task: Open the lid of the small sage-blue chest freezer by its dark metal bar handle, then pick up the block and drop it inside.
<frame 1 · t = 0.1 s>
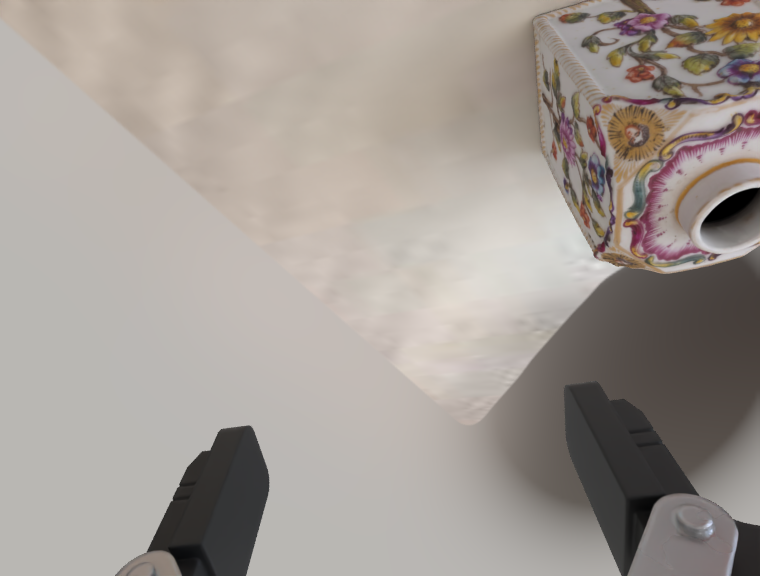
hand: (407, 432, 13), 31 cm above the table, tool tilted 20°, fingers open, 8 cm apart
decorative jar: (613, 67, 39), on the table
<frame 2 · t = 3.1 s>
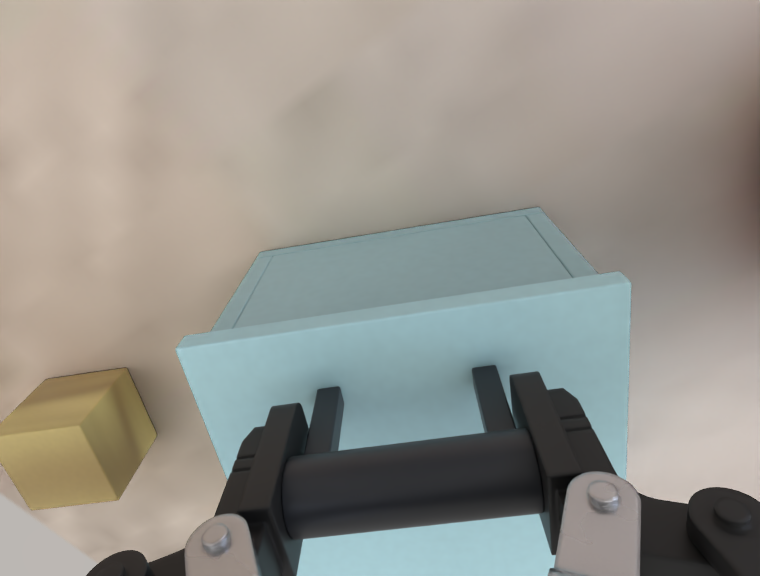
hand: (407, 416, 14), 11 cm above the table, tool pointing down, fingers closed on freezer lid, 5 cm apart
chest freezer: (420, 374, 27), on the table
block: (103, 407, 28), on the table
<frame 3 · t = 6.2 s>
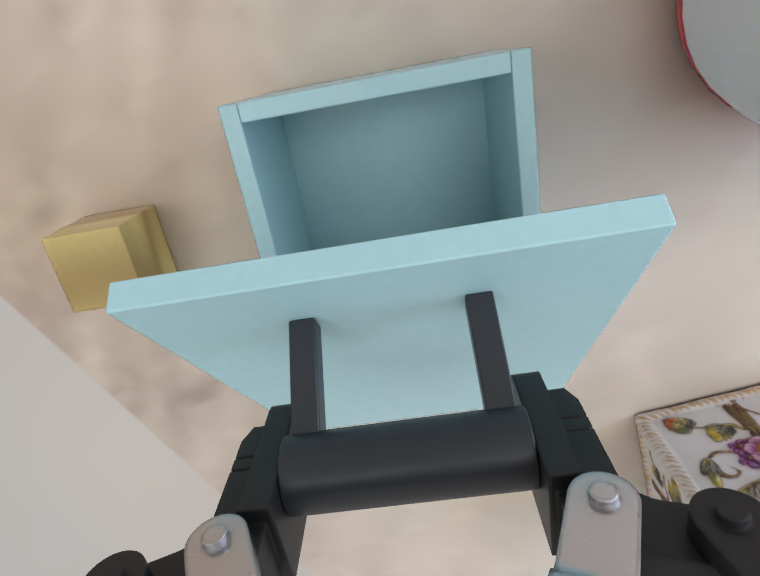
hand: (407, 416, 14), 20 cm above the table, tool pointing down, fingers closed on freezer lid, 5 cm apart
chest freezer: (399, 209, 32), on the table
decorative jar: (721, 450, 39), on the table
block: (132, 244, 33), on the table
freezer lid: (418, 425, 18), point 16 cm above the table, hinge at 41.6°, touching gripper
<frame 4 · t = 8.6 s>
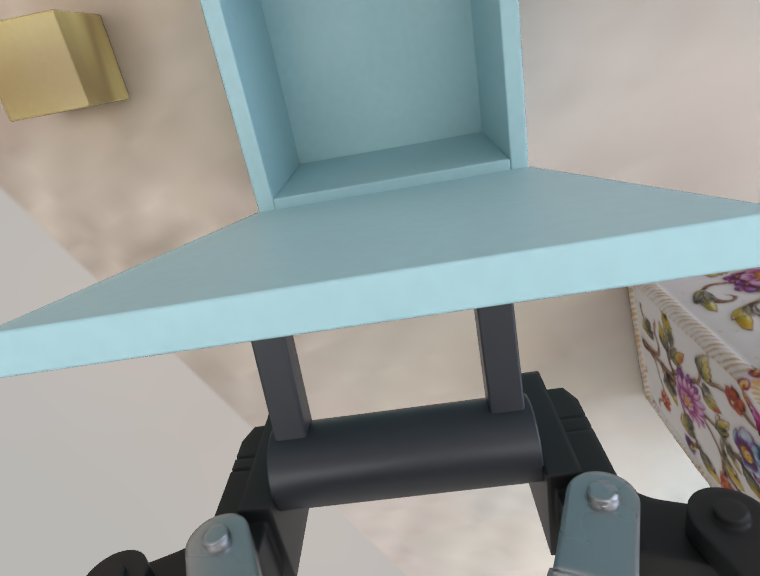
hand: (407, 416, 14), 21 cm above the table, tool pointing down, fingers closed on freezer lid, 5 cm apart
chest freezer: (368, 18, 29), on the table
decorative jar: (716, 310, 36), on the table
block: (79, 64, 30), on the table
freezer lid: (396, 296, 16), point 18 cm above the table, hinge at 80.0°, touching gripper
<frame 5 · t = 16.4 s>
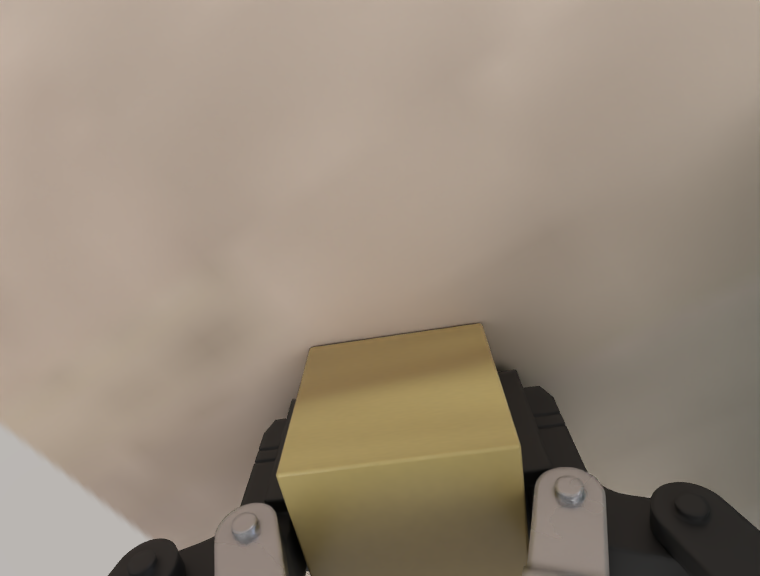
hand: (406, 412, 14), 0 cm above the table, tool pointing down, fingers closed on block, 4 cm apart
block: (407, 404, 14), on the table, touching gripper
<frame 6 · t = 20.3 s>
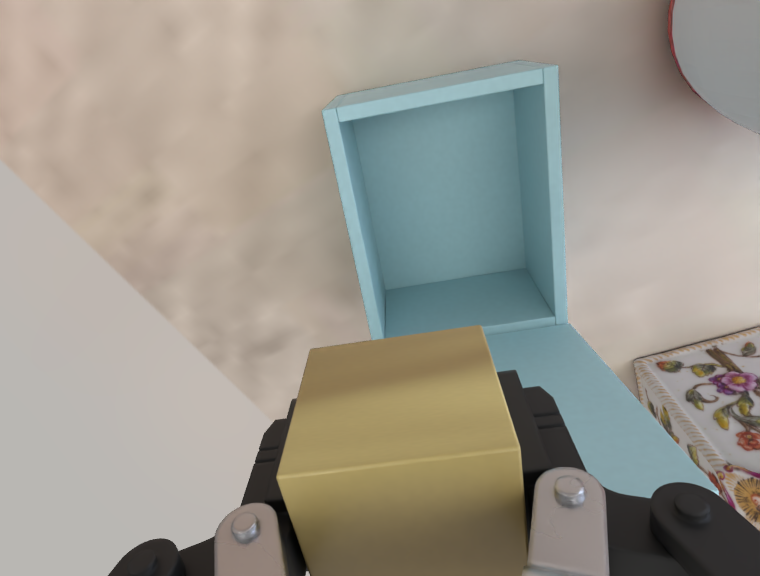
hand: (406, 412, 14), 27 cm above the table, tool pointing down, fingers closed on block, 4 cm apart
chest freezer: (442, 189, 39), on the table
decorative jar: (705, 390, 46), on the table
block: (407, 405, 14), point 27 cm above the table, touching gripper
freezer lid: (495, 446, 26), point 18 cm above the table, hinge at 80.5°
when the fingers open (12 cm above the table, at t = 24.5 s): block drops 11 cm, resting on chest freezer.
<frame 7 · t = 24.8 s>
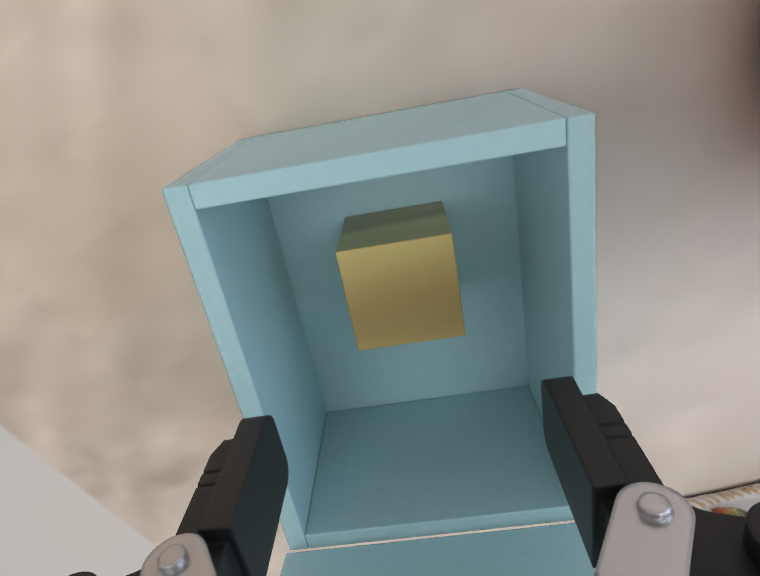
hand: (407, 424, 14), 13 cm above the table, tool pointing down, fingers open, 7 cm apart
chest freezer: (405, 275, 26), on the table
block: (400, 254, 25), point 1 cm above the table, touching chest freezer
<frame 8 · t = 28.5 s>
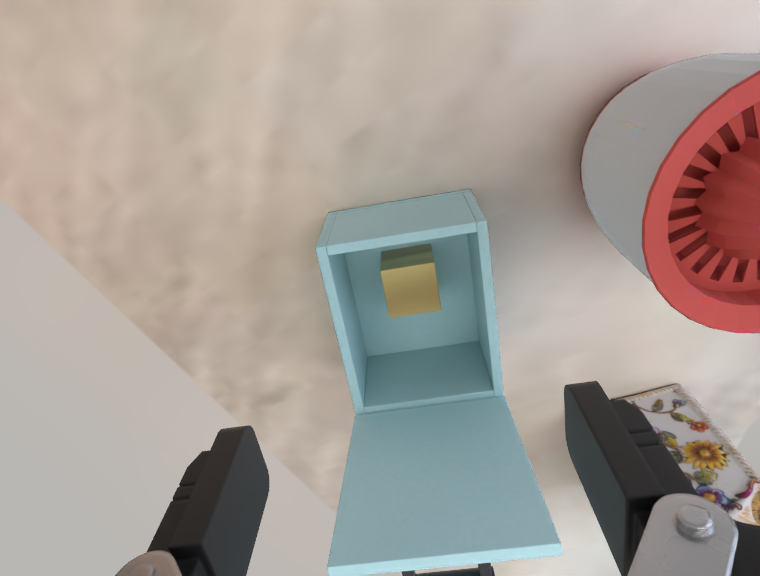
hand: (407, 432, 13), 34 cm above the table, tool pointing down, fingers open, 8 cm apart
chest freezer: (411, 280, 49), on the table
decorative jar: (630, 434, 56), on the table
block: (409, 269, 48), point 1 cm above the table, touching chest freezer
freezer lid: (439, 497, 37), point 18 cm above the table, hinge at 80.5°
citrus juicer: (660, 148, 44), on the table
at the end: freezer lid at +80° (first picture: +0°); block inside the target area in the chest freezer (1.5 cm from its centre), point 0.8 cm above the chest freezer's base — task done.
